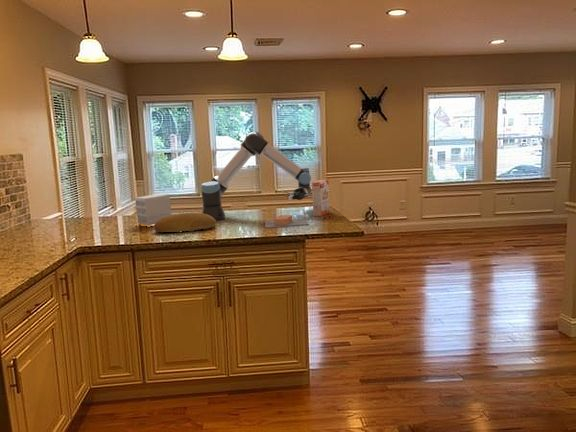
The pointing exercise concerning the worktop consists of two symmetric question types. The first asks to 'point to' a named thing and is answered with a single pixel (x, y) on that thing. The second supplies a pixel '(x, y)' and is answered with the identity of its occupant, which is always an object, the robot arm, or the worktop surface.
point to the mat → (294, 223)
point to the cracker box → (320, 197)
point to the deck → (283, 220)
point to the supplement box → (152, 208)
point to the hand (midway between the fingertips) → (289, 198)
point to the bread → (184, 222)
